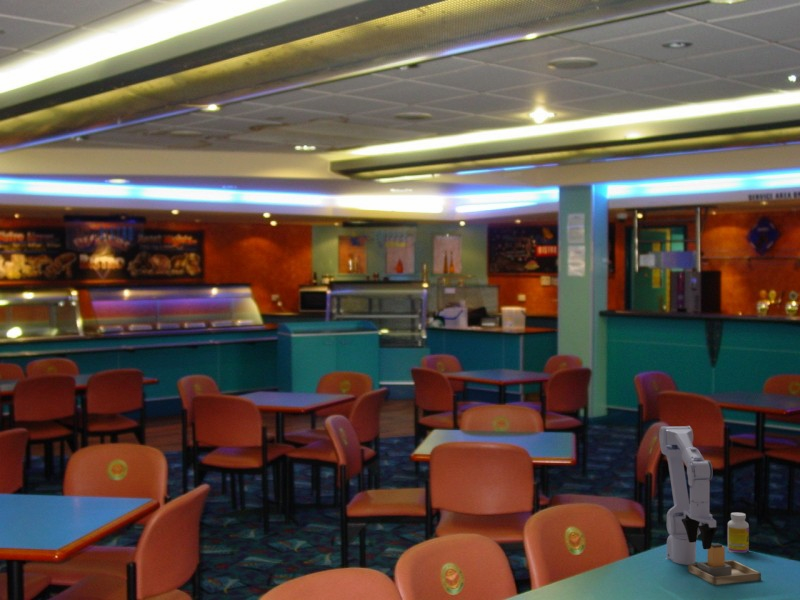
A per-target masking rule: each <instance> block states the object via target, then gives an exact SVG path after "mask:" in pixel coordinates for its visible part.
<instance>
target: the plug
mask: <svg viewBox="0 0 800 600" xmlns="http://www.w3.org/2000/svg"><path fill="white" fill-rule="evenodd" d="M725 554H726V547H725V546H723V544H721V543H719V542H717V543H716V542H715V543H712V544H711V548H710V549H707V557H706V558H707V560H706V562H707V565H708V566H710V567H718V566H725V561H726V555H725Z"/></svg>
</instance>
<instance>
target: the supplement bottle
mask: <svg viewBox="0 0 800 600" xmlns="http://www.w3.org/2000/svg"><path fill="white" fill-rule="evenodd" d="M746 515H747V514H746V513H744V512H731V513H730V518H731V520H729V521H728V522H727V552H728V553H747V551H748V552H749V551H750V549H749V548H750V546H749V545H750V540H749V539H750V535H749V533H750V526H749V523H748V522H747V521H746V519H747V518H746V517H747V516H746Z"/></svg>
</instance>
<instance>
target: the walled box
mask: <svg viewBox="0 0 800 600" xmlns="http://www.w3.org/2000/svg"><path fill="white" fill-rule="evenodd" d="M725 563H726V564H728V565H730V566H732V575H729V576H720V577H714V576H712V575H710V574H708V573H706V572H704V571H702V570H700V569H698V563H694V564H689V565H687V572H689V573H691V574H693V575H694V576H697V577H698V578H700V579H702V580H704V581H706V582H708V583H710V584H711V585H714V586H716V585H717V586H718V585H726V584H727V585H728V584H734V583H735V584H736V583H743V582H745V583H746V582H754V581H761V580H762V573H761V572H760V571H757V570H755V569H753V568H751V567H750V566H747V565H744V564H742V563H740V562H738V561H736V560H734V559H730V560H725Z"/></svg>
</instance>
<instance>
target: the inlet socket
mask: <svg viewBox="0 0 800 600" xmlns="http://www.w3.org/2000/svg"><path fill="white" fill-rule="evenodd" d="M697 564H698V569H700V570H702V571H704V572H706V573H708V574H710V575H712V576H714V577H720V576H729V575H732V566H730V565H728V564H726V563H725V566H718V567H710V566H708V565H707V561H702V562H701V561H700V562H697Z"/></svg>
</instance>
